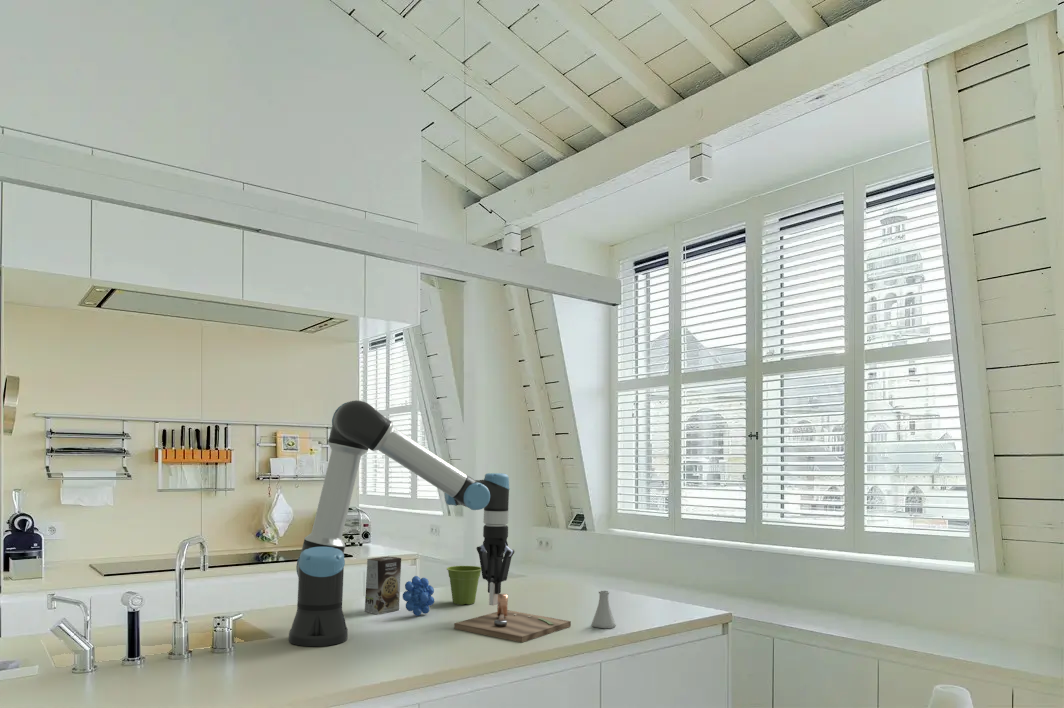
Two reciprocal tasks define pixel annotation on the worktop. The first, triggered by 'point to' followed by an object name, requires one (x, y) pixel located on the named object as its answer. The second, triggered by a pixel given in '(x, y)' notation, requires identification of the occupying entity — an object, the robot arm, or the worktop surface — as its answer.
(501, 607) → the crank handle
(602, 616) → the flask
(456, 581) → the plant pot
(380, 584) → the coffee box
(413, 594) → the grapes
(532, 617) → the dial board
